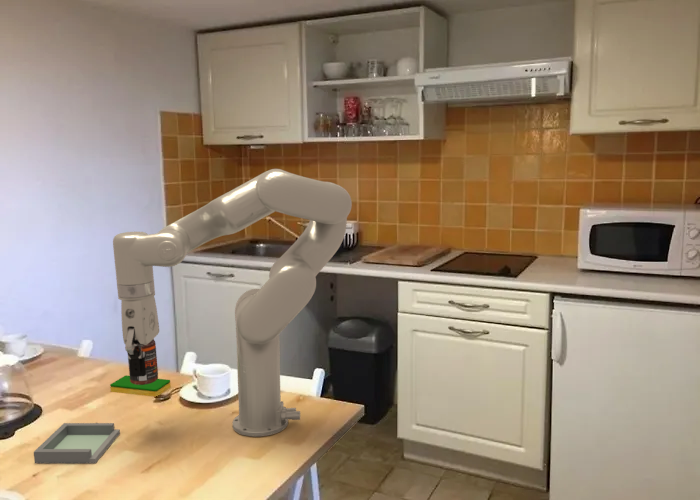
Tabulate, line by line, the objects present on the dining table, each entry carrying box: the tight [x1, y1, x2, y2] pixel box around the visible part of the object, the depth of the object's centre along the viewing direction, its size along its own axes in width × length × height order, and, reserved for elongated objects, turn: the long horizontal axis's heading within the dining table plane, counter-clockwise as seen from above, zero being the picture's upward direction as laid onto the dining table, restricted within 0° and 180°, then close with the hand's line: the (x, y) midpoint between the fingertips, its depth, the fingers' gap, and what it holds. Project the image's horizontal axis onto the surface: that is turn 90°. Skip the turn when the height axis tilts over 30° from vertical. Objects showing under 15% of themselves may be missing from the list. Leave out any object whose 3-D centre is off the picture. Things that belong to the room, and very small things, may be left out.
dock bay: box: [33, 422, 121, 464], centre depth 135 cm, size 12×13×2 cm
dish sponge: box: [109, 375, 172, 398], centre depth 167 cm, size 7×14×2 cm, turn 75°
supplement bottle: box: [127, 339, 159, 385], centre depth 138 cm, size 6×6×11 cm
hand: (143, 369), depth 138 cm, fingers closed on supplement bottle, 6 cm apart
